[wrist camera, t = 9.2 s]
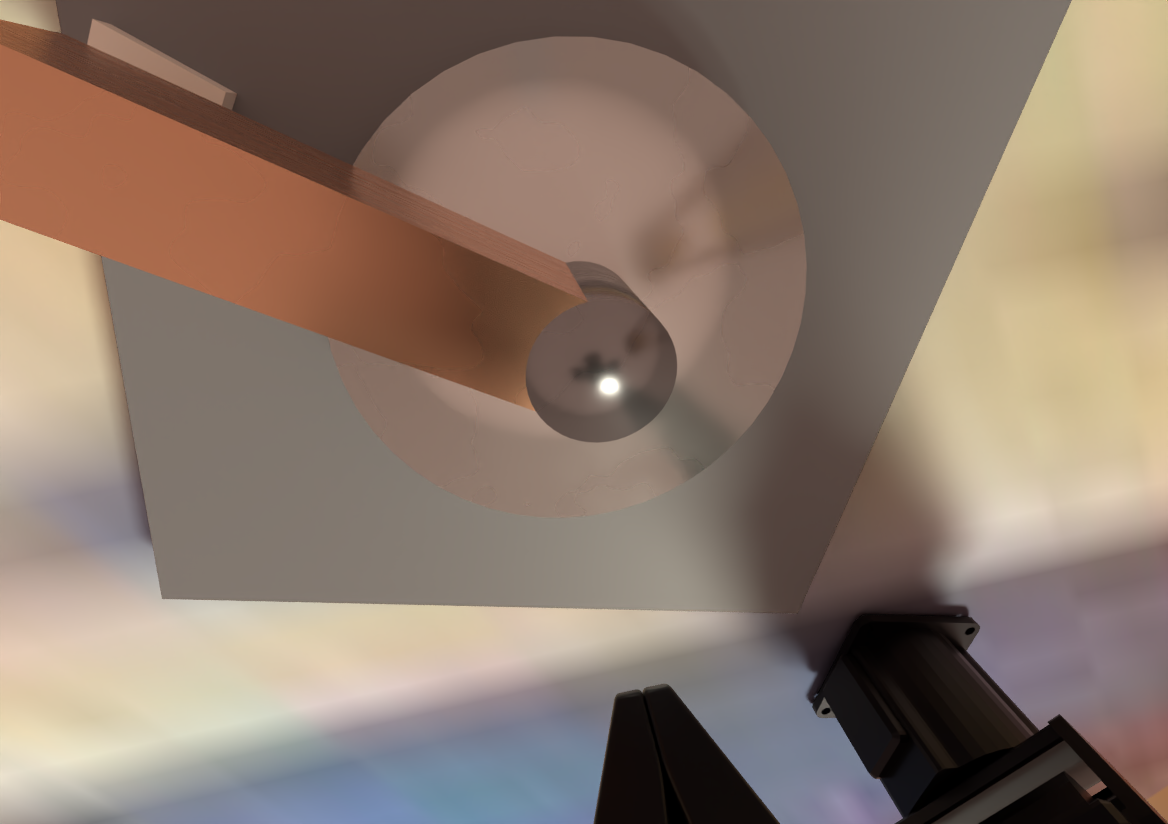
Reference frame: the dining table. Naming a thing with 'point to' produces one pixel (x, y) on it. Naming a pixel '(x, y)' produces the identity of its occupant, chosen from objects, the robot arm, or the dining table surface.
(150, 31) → the panel
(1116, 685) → the dining table surface
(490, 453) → the dial
